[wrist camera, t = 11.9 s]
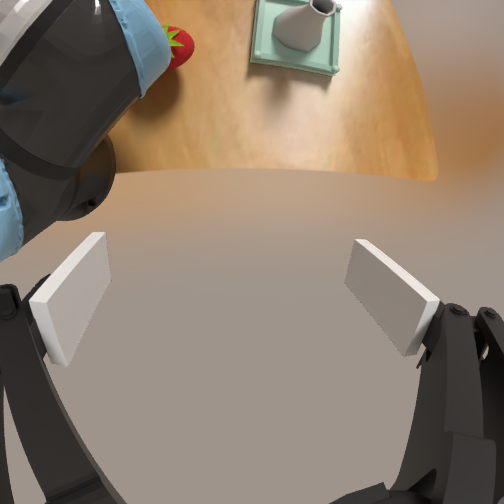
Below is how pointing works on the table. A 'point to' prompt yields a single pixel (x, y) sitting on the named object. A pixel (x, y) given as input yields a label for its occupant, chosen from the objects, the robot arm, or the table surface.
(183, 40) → the strawberry
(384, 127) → the table surface
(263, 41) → the base board
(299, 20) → the flask
